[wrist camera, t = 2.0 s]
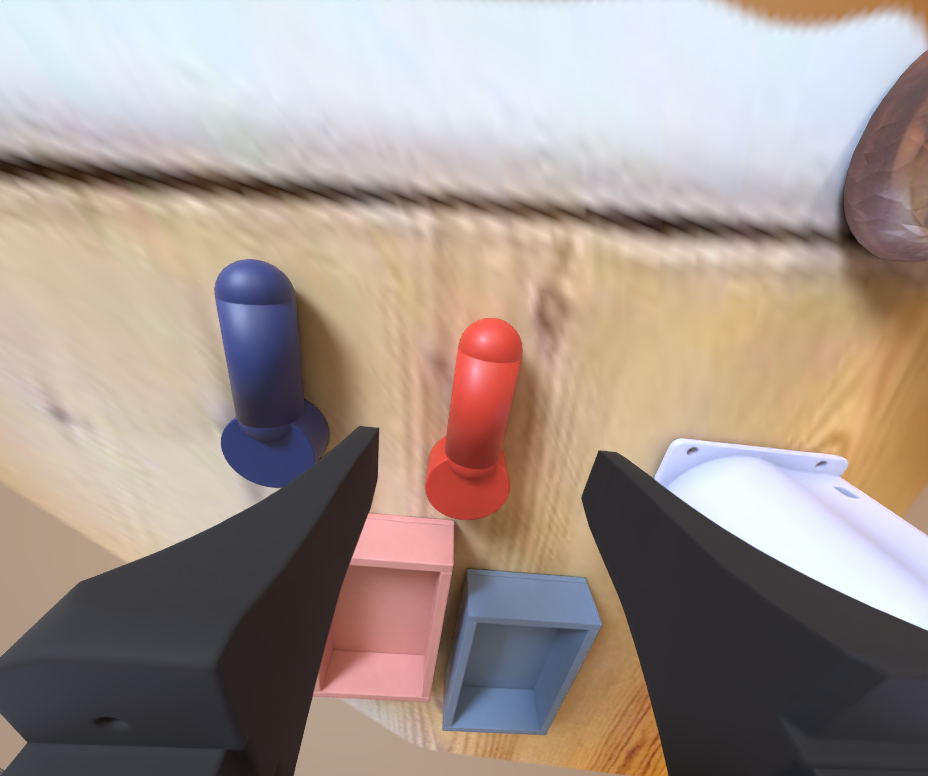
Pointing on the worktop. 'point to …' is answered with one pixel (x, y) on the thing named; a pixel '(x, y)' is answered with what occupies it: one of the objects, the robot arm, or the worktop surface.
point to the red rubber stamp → (476, 424)
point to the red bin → (390, 611)
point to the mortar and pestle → (893, 173)
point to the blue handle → (266, 377)
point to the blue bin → (516, 650)
